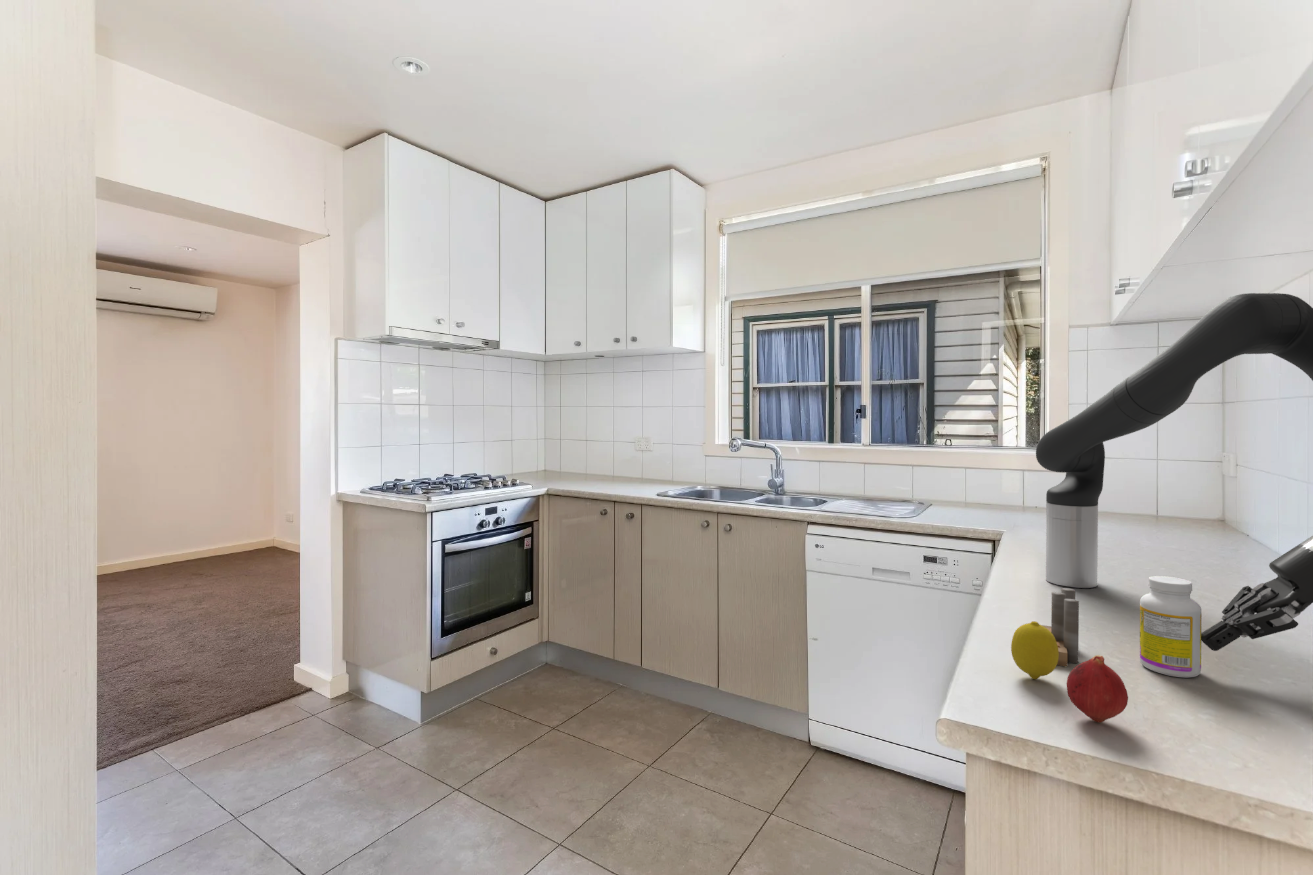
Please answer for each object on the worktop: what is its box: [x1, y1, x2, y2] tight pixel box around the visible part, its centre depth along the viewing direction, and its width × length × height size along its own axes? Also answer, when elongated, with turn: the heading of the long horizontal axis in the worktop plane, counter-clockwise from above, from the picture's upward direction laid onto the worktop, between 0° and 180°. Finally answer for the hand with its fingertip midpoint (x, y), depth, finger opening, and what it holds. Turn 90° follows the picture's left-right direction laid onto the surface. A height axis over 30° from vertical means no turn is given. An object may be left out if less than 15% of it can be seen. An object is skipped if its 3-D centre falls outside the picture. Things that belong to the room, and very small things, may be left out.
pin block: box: [1041, 587, 1080, 667], centre depth 92 cm, size 12×6×9 cm, turn 149°
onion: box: [1065, 654, 1129, 724], centre depth 71 cm, size 6×6×8 cm
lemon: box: [1010, 621, 1059, 680], centre depth 82 cm, size 6×6×8 cm
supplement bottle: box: [1139, 575, 1202, 678], centre depth 85 cm, size 7×7×13 cm
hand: (1205, 644), depth 83 cm, fingers closed
